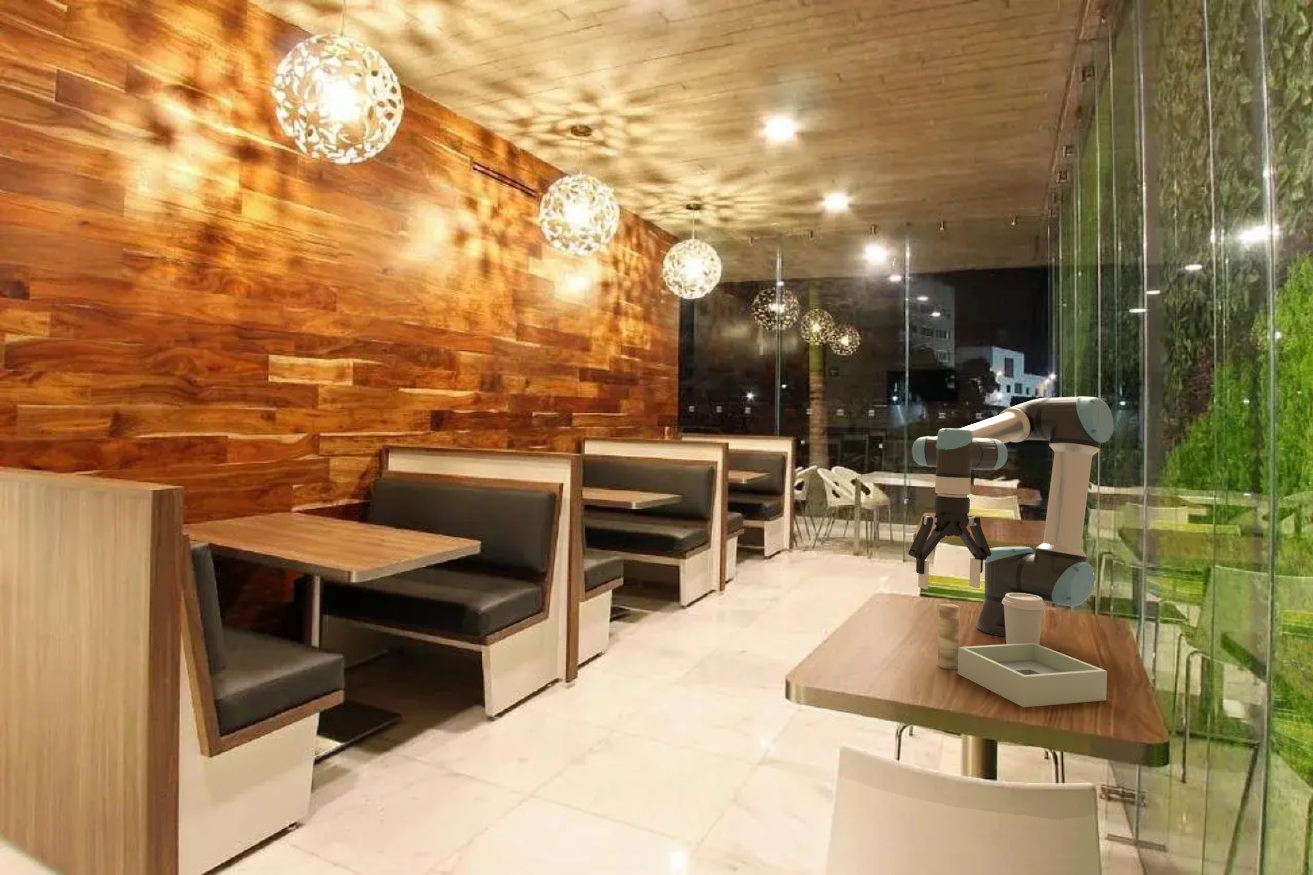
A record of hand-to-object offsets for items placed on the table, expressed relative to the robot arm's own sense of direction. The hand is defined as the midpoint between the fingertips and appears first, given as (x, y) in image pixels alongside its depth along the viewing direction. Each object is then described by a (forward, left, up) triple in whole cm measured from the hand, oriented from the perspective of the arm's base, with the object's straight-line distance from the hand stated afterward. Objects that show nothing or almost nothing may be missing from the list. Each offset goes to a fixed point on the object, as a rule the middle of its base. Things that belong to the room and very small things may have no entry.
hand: (949, 587), depth 169 cm
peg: (0, 0, -18) cm, 18 cm away
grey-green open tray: (-9, +15, -18) cm, 25 cm away
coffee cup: (-22, -2, -18) cm, 29 cm away
